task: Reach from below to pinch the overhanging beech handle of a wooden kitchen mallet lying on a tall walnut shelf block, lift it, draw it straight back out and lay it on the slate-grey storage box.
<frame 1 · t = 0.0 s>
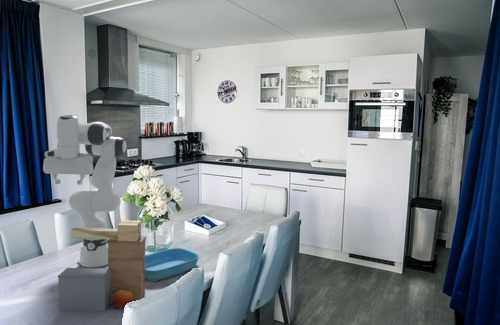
hand: (68, 184, 159), 48 cm above the table, tool pointing down, fingers open, 8 cm apart
casserole dish: (166, 271, 188), on the table
storage box: (85, 306, 149), on the table
shelf block: (126, 295, 159), on the table
fruit: (123, 306, 150), on the table
mallet: (115, 238, 156), point 26 cm above the table, touching shelf block
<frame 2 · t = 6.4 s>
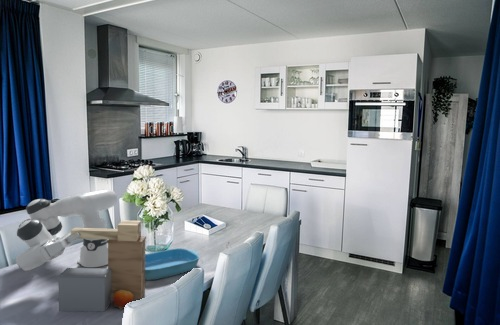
hand: (81, 232, 155), 28 cm above the table, tool pointing upward, fingers closed on mallet, 4 cm apart
mallet: (115, 238, 156), point 26 cm above the table, touching gripper, shelf block
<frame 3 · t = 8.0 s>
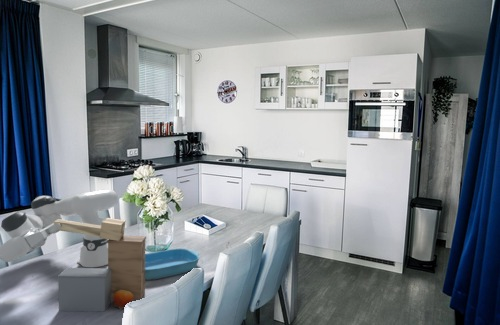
hand: (63, 222, 154), 32 cm above the table, tool pointing upward, fingers closed on mallet, 4 cm apart
mallet: (97, 234, 156), point 27 cm above the table, tilted 8°, touching gripper
when the fingers open (19 cm above the table, at t = 12.0 s): mallet drops 6 cm and tips over, resting on storage box.
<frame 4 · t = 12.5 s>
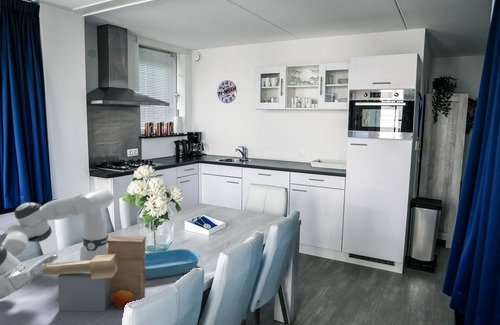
hand: (50, 260, 145), 19 cm above the table, tool pointing upward, fingers open, 8 cm apart
mallet: (91, 264, 148), point 18 cm above the table, tilted 90°, touching storage box
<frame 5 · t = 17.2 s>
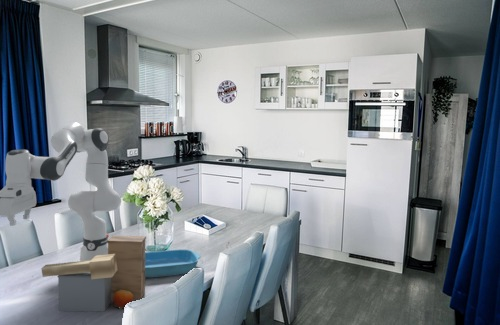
hand: (19, 221, 150), 33 cm above the table, tool pointing down, fingers open, 8 cm apart
at the end: mallet inside the target area (0.9 cm from its centre), point 17.7 cm above the table; mallet touching storage box; the gripper is holding nothing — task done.
